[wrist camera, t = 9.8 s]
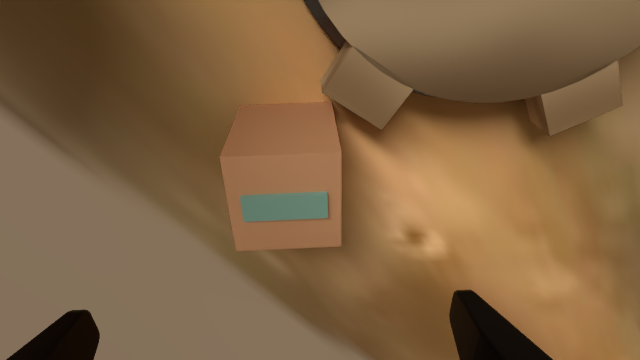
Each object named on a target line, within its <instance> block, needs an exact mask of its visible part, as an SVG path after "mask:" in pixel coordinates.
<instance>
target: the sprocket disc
mask: <svg viewBox="0 0 640 360" xmlns="http://www.w3.org/2000/svg"><path fill="white" fill-rule="evenodd" d="M319 2H320V4H321V6H322V8H323V10H324V11H325V13H326V14H327V16H328V17H329V18H330V20H331V21H332V23H333V24H334V25H335V27H336V28H337V29H338V31H339V32H340V34H341V35H342V36H343V37H344V38H345V39H346V40H347V41H346V42H345V44H344V45H343V47H342V48H341V50H340V51H339V53H338V54H337V56H336V57H335V59H334V60H333V62H332V63H331V65H330V66H329V68H328V69H327V71H326V73H325V74H324V76H323V77H322V79H321V80H320V81H321V88H322V93H323V94H325V95H327V96H328V97H330V98H331V99H333V100H335V101H336V102H338V103H339V104H341V105H342V106H344V107H346V108H347V109H349V110H350V111H352V112H354V113H355V114H357V115H358V116H360V117H362V118H363V119H365V120H366V121H368V122H370V123H371V124H373V125H374V126H376V127H377V128H379V129H381V130H382V129H383V128H384V126H385V125H386V124H387V123H388V121H389V120H390V119H391V117H392V116H393V115H394V114H395V112H396V111H397V110H398V108H399V107H400V106H401V105H402V103H403V102H404V101H405V99H406V98H407V97H408V96H409V94H410V93H411V92H412V91H413V89H415V90H417V91H420V92H422V93H424V94H427V95H431V96H435V97H439V98H443V99H447V100H452V101H461V102H470V103H498V102H507V101H514V100H521V99H525V102H526V106H527V110H528V114H529V119H530V122H532V123H533V124H534V125H536V126H537V127H538V128H540V129H541V130H542V131H544V132H545V133H546V134H548V135H549V136H552V135H555V134H557V133H559V132H562V131H564V130H566V129H569V128H571V127H573V126H576V125H578V124H580V123H583V122H585V121H588V120H590V119H592V118H595V117H597V116H599V115H602V114H604V113H606V112H609V111H611V110H614V109H616V108H618V107H621V106H623V104H622V94H621V85H620V75H619V65H618V60H619V59H621V58H623V57H624V56H626V55H627V54H629V53H631V52H632V51H634V50H635V49H636V48H638V47H639V46H640V0H319Z"/></svg>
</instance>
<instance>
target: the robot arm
mask: <svg viewBox="0 0 640 360" xmlns="http://www.w3.org/2000/svg"><path fill="white" fill-rule="evenodd" d="M449 316H450V323H451V327H452V331H453V335H454V339H455V342H456V346H457V350H458V354H459V358H460V360H553V359H552V358H550V357H549V356H548V355H547V354H546V353H545V352H543V351H542V350H541V349H540V348H539V347H538V346H536V345H535V344H534V343H533V342H532V341H531V340H530V339H528V338H527V337H526V336H525V335H524V334H523V333H521V332H520V331H519V330H518V329H517V328H516V327H514V326H513V325H512V324H511V323H510V322H509V321H507V320H506V319H505V318H504V317H503V316H502V315H501V314H499V313H498V312H497V311H496V310H495V309H494V308H492V307H491V306H490V305H489V304H488V303H487V302H485V301H484V300H483V299H482V298H481V297H480V296H478V295H477V294H476V293H475V292H474V291H472V290H457V291H455V292H454V294H453V298H452V303H451V308H450V314H449ZM99 336H100V334H99V330H98V328H97V326H96V324H95V322H94V320H93V318H92V316H91V313H90V312H89V311H88V310H72V311H69V312H67V313H65V314H64V315H63V316H62V317H60V318H59V319H58V320H57V321H55V322H54V323H53V324H51V325H50V326H49V327H48V328H46V329H45V330H44V331H42V332H41V333H40V334H39V335H37V336H36V337H35V338H33V339H32V340H31V341H30V342H28V343H27V344H26V345H24V346H23V347H22V348H21V349H19V350H18V351H17V352H16V353H14V354H13V355H12V356H10V357H9V358H8V359H7V360H93V359H94V356H95V353H96V349H97V346H98V343H99V338H100V337H99Z"/></svg>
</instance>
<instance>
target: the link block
mask: <svg viewBox="0 0 640 360" xmlns="http://www.w3.org/2000/svg"><path fill="white" fill-rule="evenodd" d="M219 158H220V163H221V169H222V175H223V180H224V186H225V192H226V197H227V203H228V209H229V214H230V220H231V226H232V231H233V237H234V243H235V248H236V251H253V250H275V249H296V248H317V247H338V246H341V190H342V152H341V147H340V142H339V137H338V132H337V126H336V121H335V116H334V111H333V106H332V102H312V103H287V104H261V105H240V107H239V109H238V112H237V114H236V117H235V119H234V122H233V124H232V127H231V129H230V132H229V134H228V137H227V139H226V142H225V144H224V147H223V150H222V152H221V155H220V157H219Z"/></svg>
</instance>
